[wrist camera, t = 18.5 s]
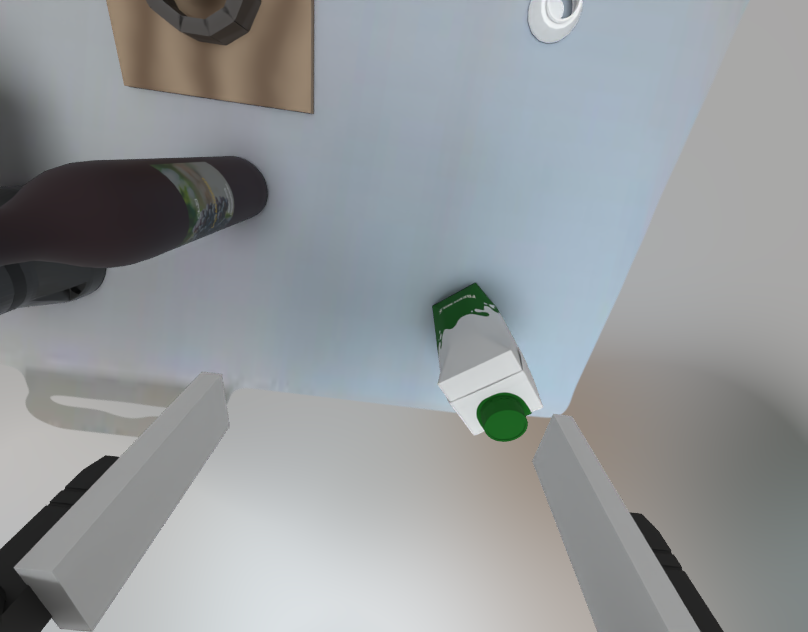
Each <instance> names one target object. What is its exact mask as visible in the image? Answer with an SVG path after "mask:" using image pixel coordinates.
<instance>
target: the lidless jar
mask: <svg viewBox="0 0 808 632" xmlns="http://www.w3.org/2000/svg"><path fill="white" fill-rule="evenodd" d="M582 5H583V0H572V14H571V15H570V16H569V17H567V18H564V19H561V17H562V15H563V12H564V6H563V3H562V1H561V0H531V3H530V6H529V9H528V23H529V26H530V29H531V32H532V34H533V35H534V36H535V37H536V38H537V39H538V40H539V41H542V42H545V43H553V42H558V41H560V40H561V39H563V38H564V37H566V36H567V35H568V34H570V32H571V31H572V30H573V28H574V27H575V26H576V24H577V23H578V20H579V17H580V15H581V12H582Z"/></svg>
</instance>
